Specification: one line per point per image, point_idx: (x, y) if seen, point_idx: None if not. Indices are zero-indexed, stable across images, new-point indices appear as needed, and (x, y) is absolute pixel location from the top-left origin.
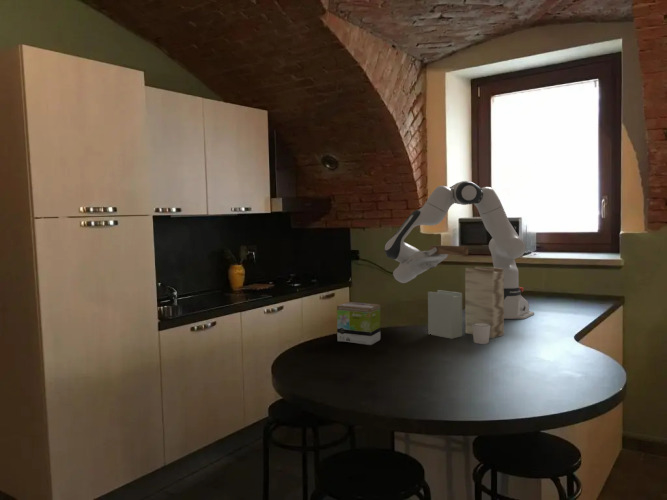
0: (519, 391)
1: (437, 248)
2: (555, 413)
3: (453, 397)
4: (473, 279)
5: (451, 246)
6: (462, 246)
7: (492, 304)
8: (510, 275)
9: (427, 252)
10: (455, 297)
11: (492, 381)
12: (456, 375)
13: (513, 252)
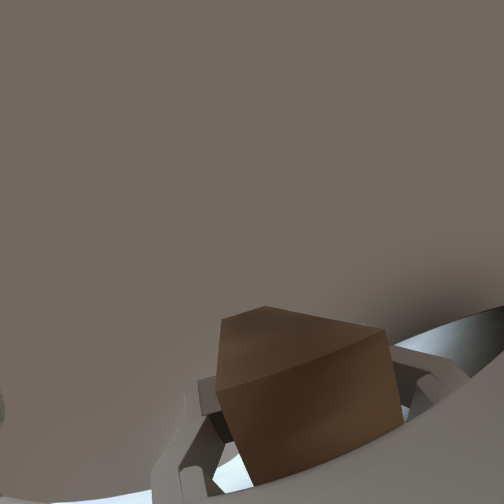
0: (425, 348)
1: None
2: (419, 334)
3: (477, 328)
4: None
5: (278, 309)
6: (239, 315)
7: None
8: (2, 496)
9: (460, 384)
10: (404, 423)
11: (439, 356)
12: (469, 356)
13: (4, 405)
